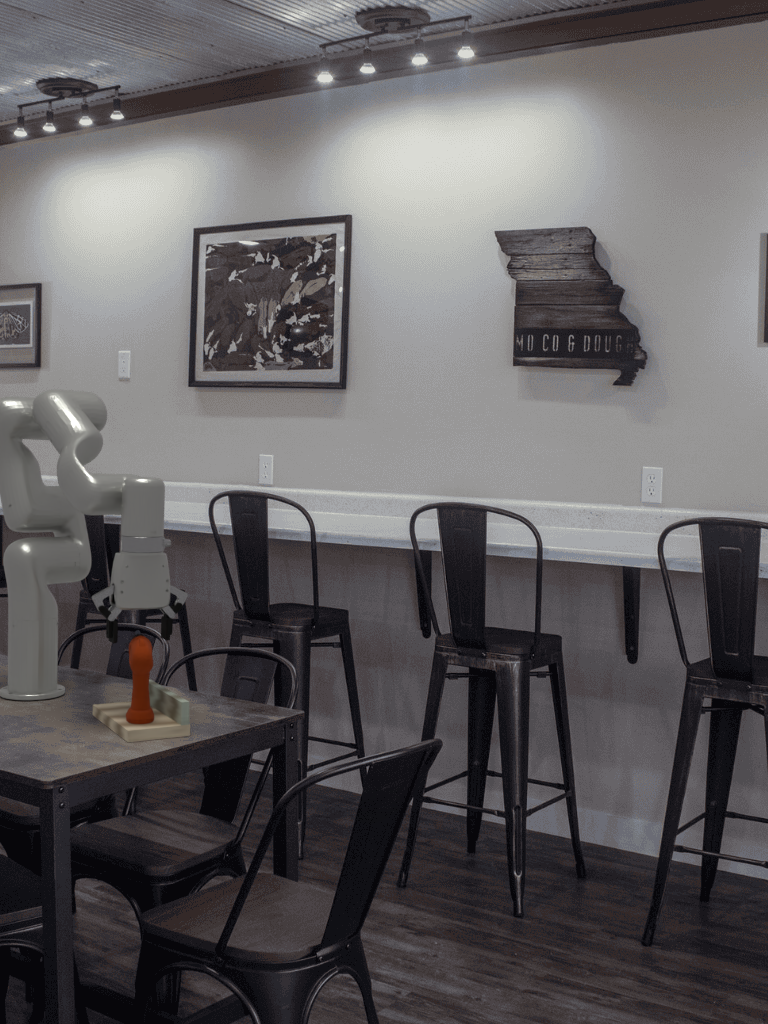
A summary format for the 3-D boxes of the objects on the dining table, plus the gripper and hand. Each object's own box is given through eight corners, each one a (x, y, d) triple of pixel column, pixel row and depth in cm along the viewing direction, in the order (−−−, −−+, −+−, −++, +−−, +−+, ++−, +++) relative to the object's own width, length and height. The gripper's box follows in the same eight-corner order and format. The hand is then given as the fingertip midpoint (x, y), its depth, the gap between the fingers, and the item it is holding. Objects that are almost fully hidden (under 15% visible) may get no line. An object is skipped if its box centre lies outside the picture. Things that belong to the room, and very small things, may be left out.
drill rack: (92, 715, 204) (93, 683, 204) (149, 709, 210) (150, 678, 209) (127, 742, 185) (128, 707, 185) (190, 735, 191) (190, 701, 190)
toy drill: (149, 693, 208) (151, 616, 206) (155, 728, 191) (157, 645, 188) (122, 693, 207) (124, 617, 205) (126, 729, 189) (128, 646, 187)
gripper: (181, 543, 204) (178, 634, 205) (88, 544, 195) (85, 639, 196) (195, 547, 197) (192, 641, 198) (99, 548, 188) (97, 647, 189)
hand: (139, 640), depth 197 cm, fingers open, 9 cm apart
